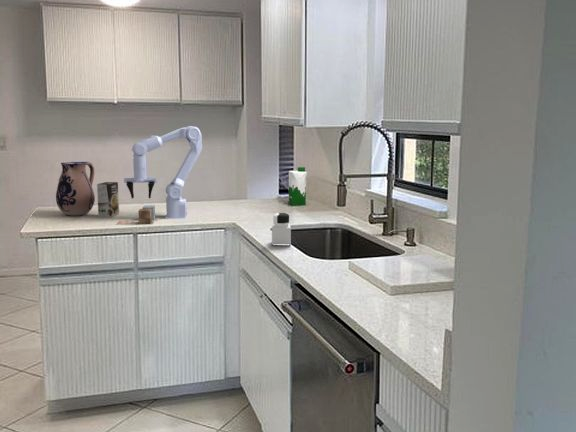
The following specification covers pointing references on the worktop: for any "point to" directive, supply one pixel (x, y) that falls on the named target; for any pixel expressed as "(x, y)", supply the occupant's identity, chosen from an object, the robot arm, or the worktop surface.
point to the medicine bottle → (281, 229)
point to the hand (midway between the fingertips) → (141, 198)
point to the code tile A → (126, 222)
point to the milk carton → (297, 187)
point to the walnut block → (145, 216)
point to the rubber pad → (144, 224)
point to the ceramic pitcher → (75, 189)
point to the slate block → (151, 210)
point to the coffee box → (108, 199)
